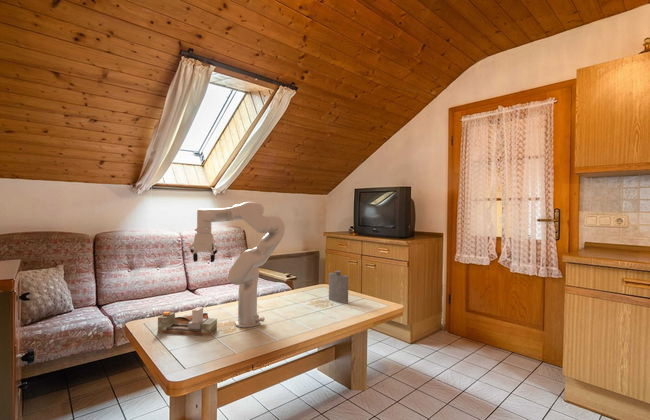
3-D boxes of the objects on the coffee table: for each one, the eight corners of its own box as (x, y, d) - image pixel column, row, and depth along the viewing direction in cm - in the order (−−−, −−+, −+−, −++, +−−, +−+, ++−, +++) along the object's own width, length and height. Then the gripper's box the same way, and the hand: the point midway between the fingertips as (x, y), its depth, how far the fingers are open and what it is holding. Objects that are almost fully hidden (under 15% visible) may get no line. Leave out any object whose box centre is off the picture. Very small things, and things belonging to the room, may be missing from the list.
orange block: (170, 321, 165) (170, 311, 165) (167, 323, 163) (167, 313, 163) (165, 321, 165) (165, 311, 165) (162, 323, 163) (162, 313, 163)
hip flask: (349, 303, 214) (349, 272, 213) (344, 304, 211) (345, 273, 211) (331, 298, 225) (331, 268, 225) (326, 299, 222) (327, 269, 222)
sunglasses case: (175, 329, 166) (173, 315, 168) (172, 332, 171) (171, 319, 173) (212, 322, 176) (210, 309, 178) (208, 325, 181) (207, 313, 183)
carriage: (206, 323, 166) (206, 306, 165) (200, 329, 159) (200, 311, 158) (195, 323, 166) (195, 306, 166) (188, 328, 159) (188, 310, 159)
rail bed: (216, 329, 166) (217, 314, 165) (209, 335, 158) (209, 320, 157) (167, 327, 168) (167, 312, 168) (157, 333, 160) (157, 317, 160)
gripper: (185, 230, 182) (185, 262, 182) (216, 231, 180) (216, 263, 181) (192, 230, 190) (192, 260, 190) (222, 230, 188) (221, 261, 188)
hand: (203, 261), depth 185 cm, fingers open, 9 cm apart
